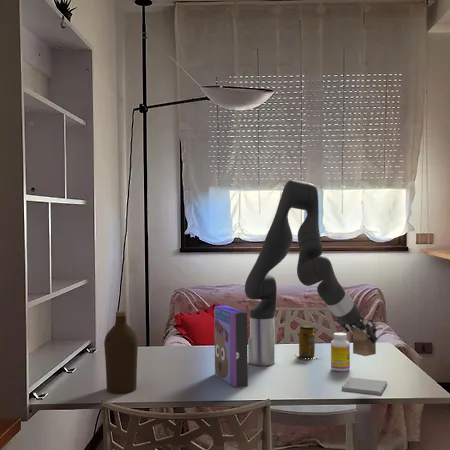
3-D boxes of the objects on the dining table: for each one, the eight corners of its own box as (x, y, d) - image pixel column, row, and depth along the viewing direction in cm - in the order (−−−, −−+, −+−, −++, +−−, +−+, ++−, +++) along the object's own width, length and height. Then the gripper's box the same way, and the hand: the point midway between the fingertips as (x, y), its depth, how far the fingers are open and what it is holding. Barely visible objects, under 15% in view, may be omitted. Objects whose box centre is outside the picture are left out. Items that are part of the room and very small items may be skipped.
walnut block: (365, 356, 179) (365, 324, 179) (353, 353, 183) (352, 322, 183) (375, 354, 182) (375, 322, 182) (363, 351, 186) (363, 320, 186)
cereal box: (214, 374, 199) (214, 305, 199) (227, 372, 201) (227, 304, 201) (234, 387, 183) (233, 313, 183) (247, 386, 185) (247, 312, 185)
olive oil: (131, 395, 176) (130, 314, 176) (99, 393, 179) (98, 313, 178) (143, 385, 187) (142, 309, 186) (113, 383, 189) (112, 308, 189)
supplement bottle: (350, 372, 200) (349, 336, 200) (330, 371, 201) (330, 335, 201) (349, 367, 207) (349, 332, 206) (331, 366, 208) (330, 331, 208)
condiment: (312, 354, 227) (311, 324, 227) (320, 359, 219) (319, 328, 219) (294, 355, 226) (294, 325, 226) (302, 360, 217) (302, 329, 217)
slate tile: (341, 390, 180) (341, 387, 180) (350, 380, 191) (350, 377, 191) (380, 394, 175) (380, 391, 175) (386, 384, 186) (386, 381, 186)
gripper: (366, 299, 172) (391, 334, 179) (331, 294, 184) (356, 327, 191) (354, 318, 169) (380, 353, 176) (319, 312, 181) (345, 345, 188)
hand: (368, 339), depth 183 cm, fingers closed on walnut block, 5 cm apart
